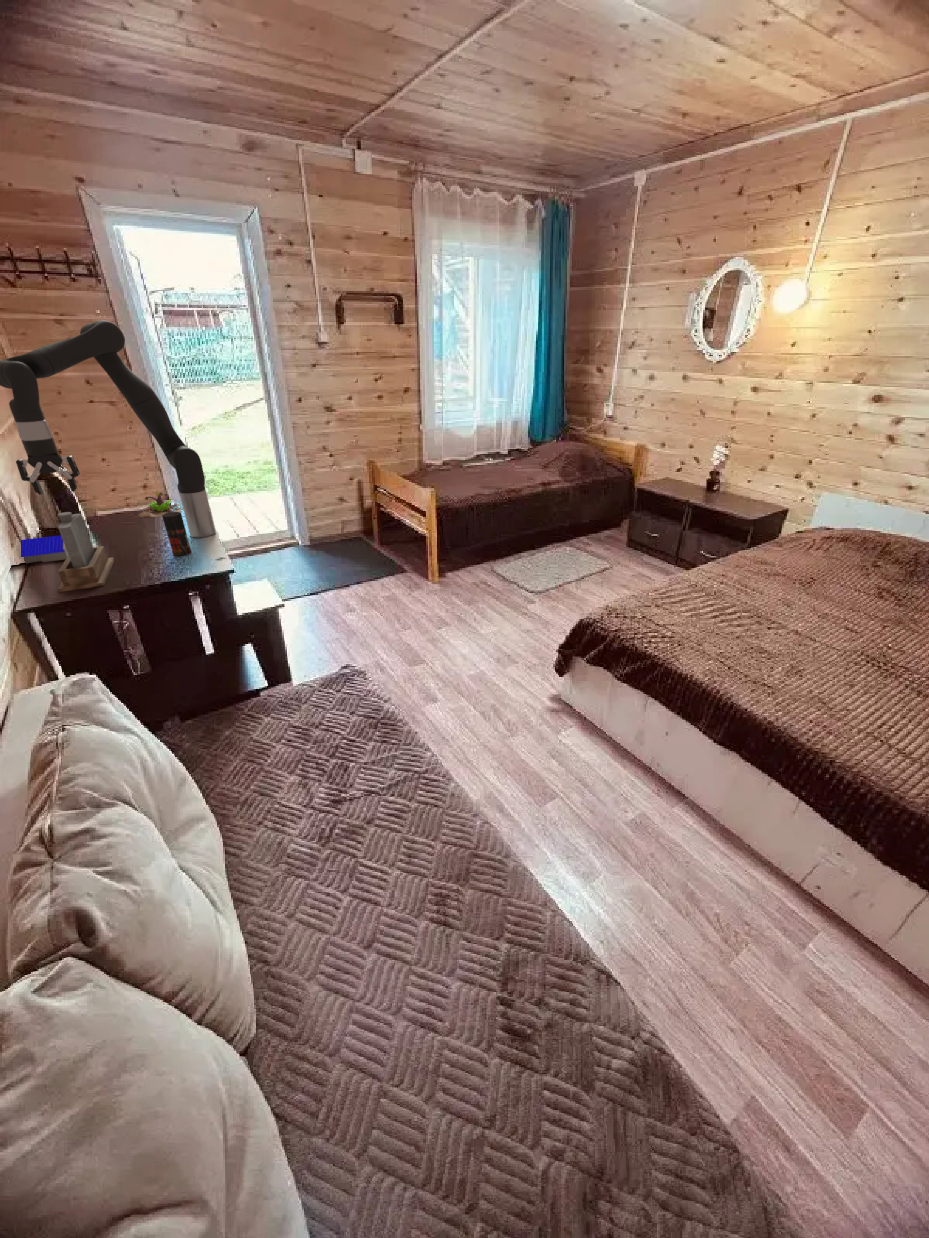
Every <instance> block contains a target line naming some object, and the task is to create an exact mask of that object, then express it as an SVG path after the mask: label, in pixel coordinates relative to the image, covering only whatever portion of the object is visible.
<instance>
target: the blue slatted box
mask: <svg viewBox="0 0 929 1238" xmlns="http://www.w3.org/2000/svg"><path fill="white" fill-rule="evenodd" d="M20 540H21V557H24V561H25V562H26V564H30V563H37V562H43V563H46V562H54V561H55V562H56V561H65V560H66V559H67V557H68V552H67V549H66V547H65V544H64V542H63V539H62V536H61V535H54V536H53V535H52V536H43V537H35V538H34V537H33V538H29V537H26V538H25V539H20Z"/></svg>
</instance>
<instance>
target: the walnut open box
mask: <svg viewBox="0 0 929 1238" xmlns="http://www.w3.org/2000/svg"><path fill="white" fill-rule="evenodd" d="M92 547H93V549H94V552H95V554H94V555H93V557H92V559H91V561H90V563H89V565H88V566H87V567H80V568H74V567H73V565H72V562H71V560H70V557H69V555H68V557H67V559H65V560H64V561H63V563H62V564H61V567H59V570H58V571H57V572H58V575H59V578H60V580H61V583H60V584H59V585H58V588H57V591H58V593H62V592H69V591H77V590H83V589H91V588H96V587H102V586H103V587H104V586H105V583H106V581H107V579H108V576H109V574H110V571H111V570H112V567H113V564H114V562H115V558H114V557H108V555H107V552H106V549H105V546H104V545H102V546H101V545H100V546H92Z"/></svg>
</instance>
